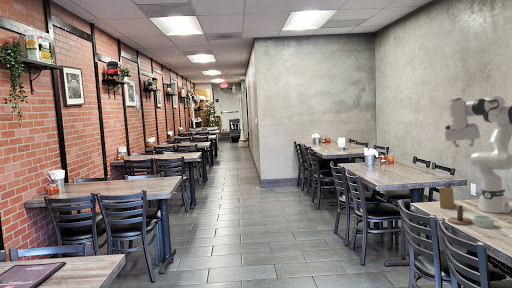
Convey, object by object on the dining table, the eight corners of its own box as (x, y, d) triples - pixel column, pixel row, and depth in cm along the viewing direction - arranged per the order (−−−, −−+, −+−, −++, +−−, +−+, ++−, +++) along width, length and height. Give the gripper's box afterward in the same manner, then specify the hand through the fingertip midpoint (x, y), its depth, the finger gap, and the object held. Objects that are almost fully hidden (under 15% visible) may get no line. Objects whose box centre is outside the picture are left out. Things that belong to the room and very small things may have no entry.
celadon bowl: (479, 221, 215) (478, 214, 215) (497, 225, 207) (497, 217, 206) (470, 224, 210) (470, 217, 210) (488, 228, 202) (488, 221, 201)
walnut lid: (455, 217, 226) (455, 202, 225) (477, 222, 215) (476, 205, 214) (443, 222, 219) (443, 205, 219) (465, 226, 208) (464, 209, 208)
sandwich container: (454, 203, 258) (454, 183, 257) (453, 209, 245) (453, 187, 244) (441, 202, 262) (440, 183, 261) (439, 208, 249) (439, 187, 248)
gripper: (480, 122, 207) (484, 144, 208) (448, 125, 226) (452, 146, 226) (473, 124, 205) (478, 147, 205) (441, 127, 223) (446, 148, 224)
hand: (464, 146), depth 216 cm, fingers open, 8 cm apart
